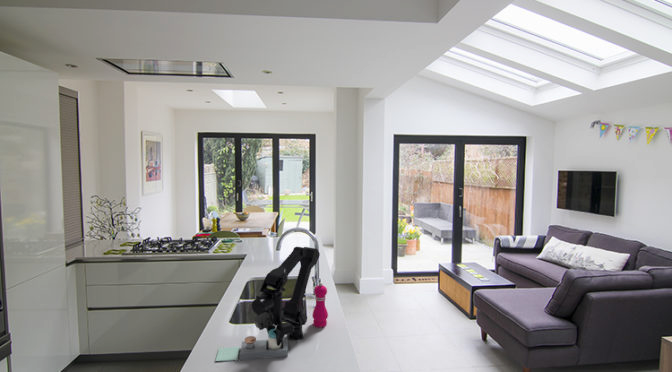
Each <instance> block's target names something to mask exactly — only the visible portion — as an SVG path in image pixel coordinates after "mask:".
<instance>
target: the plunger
mask: <svg viewBox="0 0 672 372" xmlns="http://www.w3.org/2000/svg"><path fill="white" fill-rule="evenodd" d="M244 341H245V343H246V344H247V349H254V343H255V342H256V341H257V337H256V336H254V335H253V336H252V335H249V336H247V337H245V338H244Z"/></svg>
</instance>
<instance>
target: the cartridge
mask: <svg viewBox="0 0 672 372" xmlns="http://www.w3.org/2000/svg"><path fill="white" fill-rule="evenodd" d="M275 330H276V328H275V329H271V330H269V332H267V336H268V339H267V340H268V347H267V348H268V349H267V350H274V349H282V346H281V344H280V345H279V346H277V342H276V334H275V333H274V332H273V331H275Z"/></svg>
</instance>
